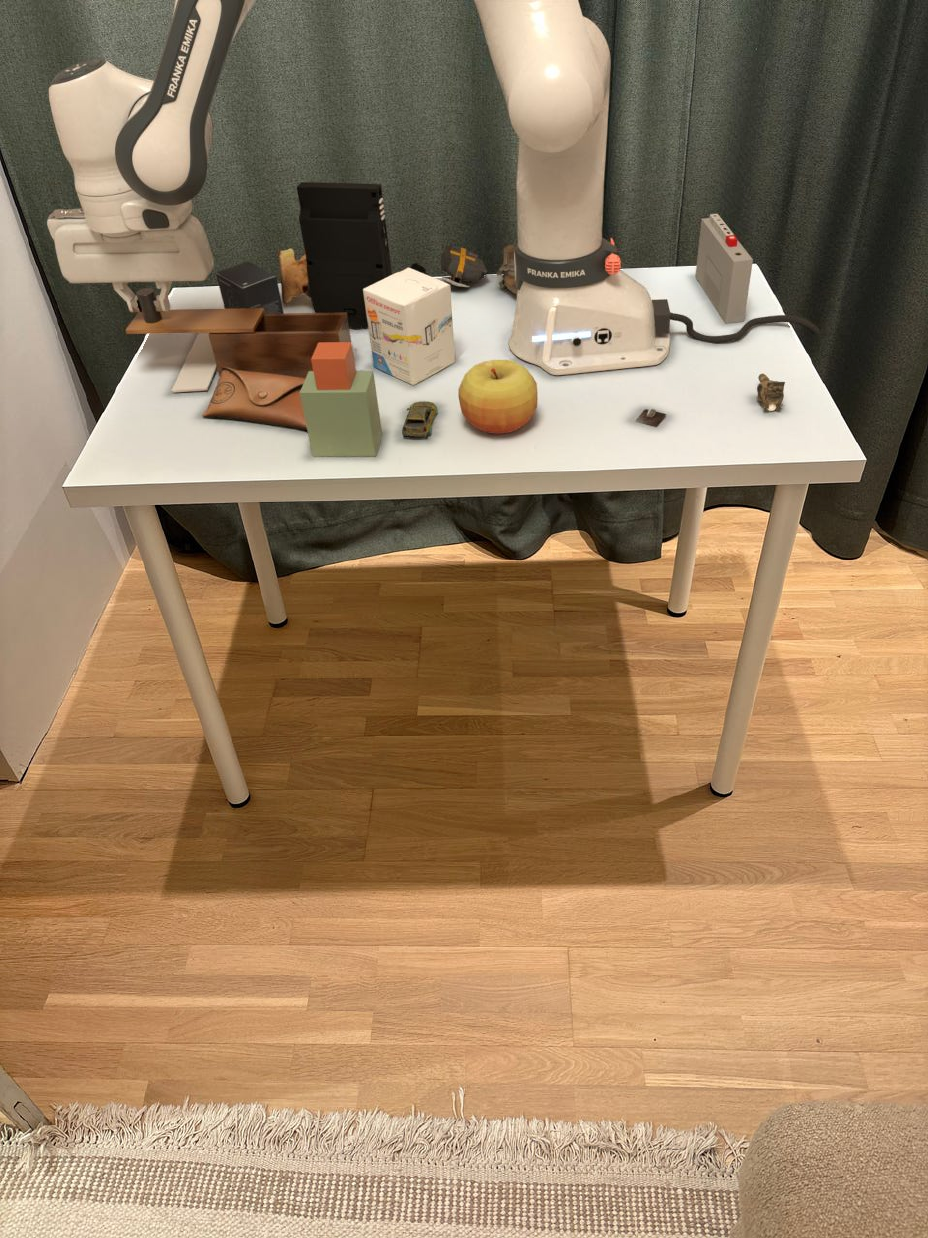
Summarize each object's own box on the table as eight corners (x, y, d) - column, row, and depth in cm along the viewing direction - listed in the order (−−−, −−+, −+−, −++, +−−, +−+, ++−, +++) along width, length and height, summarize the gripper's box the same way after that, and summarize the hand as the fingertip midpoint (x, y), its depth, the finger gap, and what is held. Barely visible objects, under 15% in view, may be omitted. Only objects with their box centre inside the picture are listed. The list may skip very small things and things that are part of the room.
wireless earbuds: (410, 290, 150) (437, 286, 153) (410, 274, 149) (437, 270, 151) (387, 276, 155) (414, 272, 157) (388, 260, 153) (414, 256, 155)
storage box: (354, 358, 136) (346, 311, 132) (346, 379, 132) (338, 332, 127) (232, 359, 138) (220, 313, 134) (220, 380, 134) (208, 334, 129)
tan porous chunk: (275, 224, 146) (329, 222, 148) (280, 269, 156) (331, 267, 157) (280, 287, 142) (337, 285, 143) (285, 330, 151) (338, 327, 152)
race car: (439, 406, 125) (438, 389, 124) (429, 440, 120) (427, 423, 118) (412, 406, 126) (410, 389, 124) (400, 439, 120) (398, 422, 118)
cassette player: (743, 321, 137) (754, 252, 130) (725, 323, 137) (734, 254, 130) (712, 275, 148) (720, 209, 141) (695, 277, 148) (702, 211, 141)
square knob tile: (656, 427, 119) (656, 418, 118) (634, 421, 120) (634, 413, 119) (666, 414, 120) (666, 406, 119) (645, 408, 121) (645, 400, 120)
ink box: (371, 367, 134) (360, 286, 126) (415, 344, 138) (407, 264, 130) (413, 386, 129) (404, 304, 121) (457, 362, 134) (451, 281, 126)
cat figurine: (763, 417, 118) (767, 385, 116) (748, 396, 125) (751, 365, 122) (786, 416, 118) (790, 384, 116) (769, 394, 124) (773, 364, 122)
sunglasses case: (196, 416, 126) (198, 364, 125) (224, 416, 133) (226, 366, 131) (321, 432, 122) (324, 378, 120) (343, 431, 128) (347, 380, 127)
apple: (458, 445, 118) (453, 387, 113) (462, 403, 125) (458, 347, 120) (538, 443, 118) (537, 385, 112) (537, 401, 125) (537, 344, 119)
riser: (382, 434, 121) (373, 370, 115) (375, 456, 118) (366, 391, 112) (320, 434, 122) (308, 370, 116) (312, 456, 119) (299, 392, 113)
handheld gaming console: (399, 320, 144) (383, 182, 130) (390, 334, 141) (373, 194, 127) (325, 315, 147) (301, 180, 133) (314, 329, 144) (289, 192, 130)
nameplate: (172, 392, 132) (207, 390, 132) (171, 390, 132) (207, 388, 132) (206, 320, 148) (237, 318, 148) (205, 318, 148) (237, 315, 147)
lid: (265, 311, 133) (258, 279, 130) (253, 332, 128) (246, 299, 125) (141, 313, 135) (131, 282, 132) (126, 333, 131) (115, 301, 127)
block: (356, 372, 115) (351, 341, 112) (350, 389, 112) (344, 358, 109) (323, 372, 116) (318, 342, 113) (316, 389, 113) (310, 358, 110)
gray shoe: (447, 231, 157) (440, 255, 159) (442, 262, 145) (434, 287, 147) (490, 246, 158) (482, 269, 160) (488, 278, 146) (480, 302, 149)
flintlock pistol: (563, 285, 142) (495, 284, 142) (561, 308, 144) (495, 307, 144) (559, 239, 156) (497, 238, 156) (557, 260, 158) (497, 259, 158)
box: (291, 344, 141) (276, 274, 133) (257, 358, 138) (241, 287, 131) (264, 327, 145) (248, 258, 138) (231, 340, 143) (214, 271, 136)
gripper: (31, 219, 121) (70, 322, 130) (187, 214, 118) (214, 319, 128) (52, 200, 125) (88, 301, 135) (202, 195, 123) (228, 298, 132)
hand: (150, 310), depth 131 cm, fingers closed on lid, 2 cm apart
